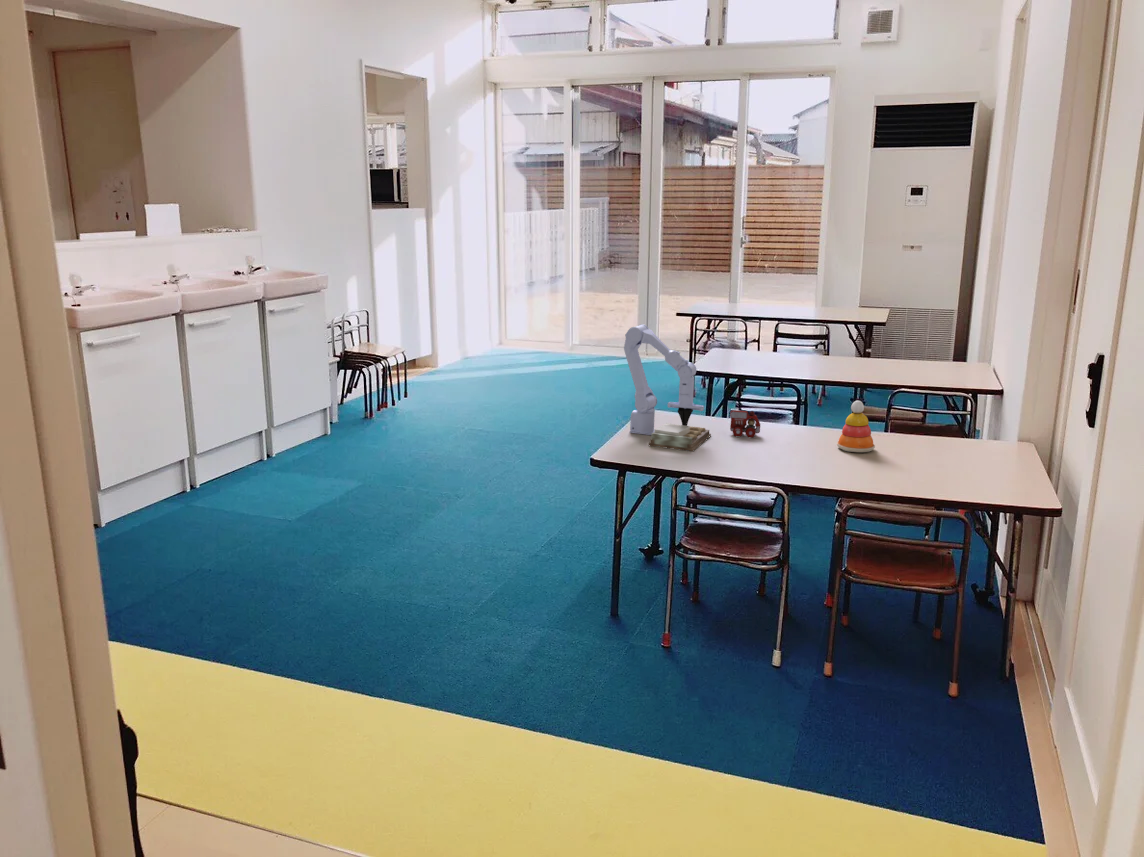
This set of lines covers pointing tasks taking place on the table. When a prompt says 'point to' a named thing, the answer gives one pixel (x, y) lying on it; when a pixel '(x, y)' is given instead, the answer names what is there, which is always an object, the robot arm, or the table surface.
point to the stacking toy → (856, 431)
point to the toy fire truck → (744, 423)
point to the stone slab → (673, 429)
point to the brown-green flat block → (681, 439)
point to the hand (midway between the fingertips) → (684, 426)
